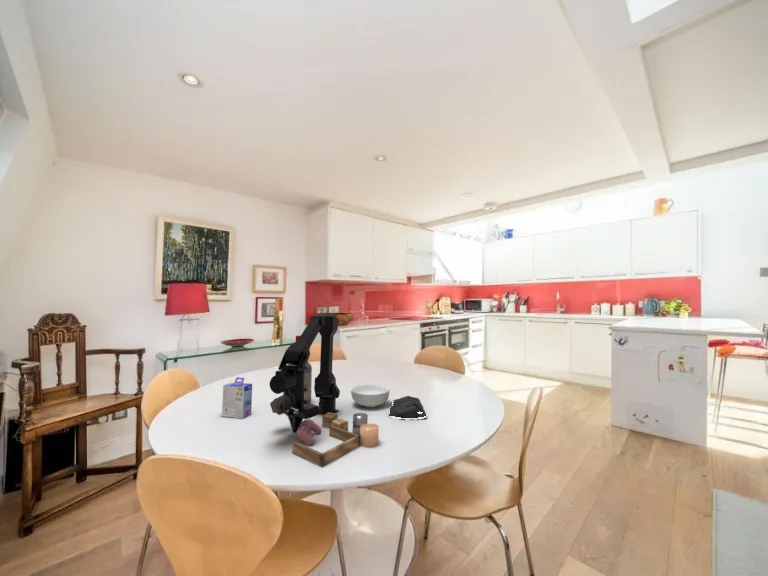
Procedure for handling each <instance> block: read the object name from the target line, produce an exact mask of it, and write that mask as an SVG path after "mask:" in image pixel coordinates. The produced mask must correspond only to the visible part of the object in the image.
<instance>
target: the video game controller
mask: <svg viewBox="0 0 768 576" xmlns="http://www.w3.org/2000/svg"><path fill="white" fill-rule="evenodd" d="M322 430H323V429H322V428H321V427H320V426H319V425H318V424H316V423H315V421H314V420H313V419H312V418H309V419H303V420H302V422H301V424H300V426H299V428H298V430H297V432H296V433H297V435H298V437H299V439H300V440H302V441H303V442H304V443H306V444H307V445H309V446H314V445H315V443H316V442H315V439H314V437H313V433H315V434H318V435H320V434H322V432H323V431H322Z"/></svg>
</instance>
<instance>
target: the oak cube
mask: <svg viewBox="0 0 768 576" xmlns="http://www.w3.org/2000/svg"><path fill="white" fill-rule="evenodd" d="M332 426H334V427H337V428H340V429H343V430H346V431H349V421H348V420H347V419H344V418H342V417H340V418H339V417H338V419H336V420H333V421H332Z"/></svg>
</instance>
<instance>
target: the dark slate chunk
mask: <svg viewBox="0 0 768 576" xmlns="http://www.w3.org/2000/svg"><path fill="white" fill-rule="evenodd" d="M392 401H394V402H393V403H394V404H393V406H391V405H390V406H391V408H390V407H389V409H390V414H389V413H388V417H389V416H395V417H401V418H418V417H424V416H426V414H427V412H426V411H425V410H423V409H424V406H423V404H422V402H421V400H420V398H418V397H415V396H410V395H406V396H402V397H400V398H397V399H393V400H392ZM419 411H420V412H423V413H422V414H418V413H417V412H419ZM425 412H426V413H425Z"/></svg>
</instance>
